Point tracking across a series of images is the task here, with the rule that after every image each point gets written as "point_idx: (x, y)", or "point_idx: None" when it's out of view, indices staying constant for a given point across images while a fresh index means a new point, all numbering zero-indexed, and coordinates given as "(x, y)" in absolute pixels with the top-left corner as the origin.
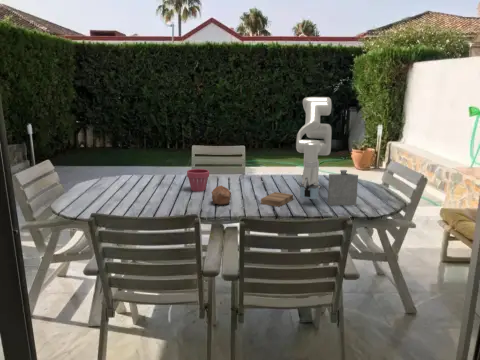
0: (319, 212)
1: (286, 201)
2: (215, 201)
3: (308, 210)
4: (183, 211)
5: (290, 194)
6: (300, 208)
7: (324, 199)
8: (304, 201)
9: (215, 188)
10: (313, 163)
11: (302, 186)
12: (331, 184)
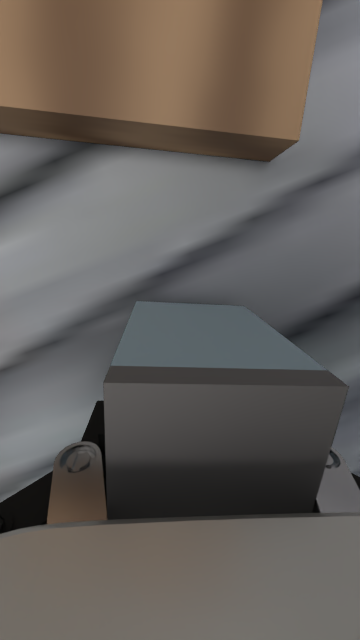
0: (11, 485)
1: (91, 135)
2: None
3: (3, 411)
4: None
5: (292, 98)
6: (13, 340)
7: (357, 407)
8: (244, 293)
9: None
10: None
11: (107, 422)
12: None
